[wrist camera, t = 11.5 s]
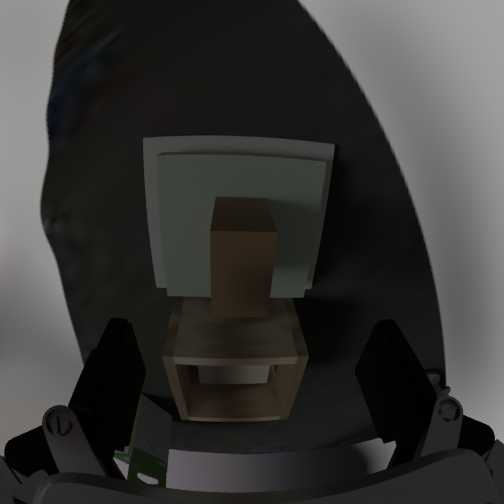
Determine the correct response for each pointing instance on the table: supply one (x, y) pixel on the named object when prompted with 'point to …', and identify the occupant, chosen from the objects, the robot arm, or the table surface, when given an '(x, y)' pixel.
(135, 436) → the ink box
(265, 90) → the table surface
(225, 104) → the table surface
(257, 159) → the lid
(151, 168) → the felt mat
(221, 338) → the keepsake box
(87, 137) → the table surface
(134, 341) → the robot arm
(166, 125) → the table surface
